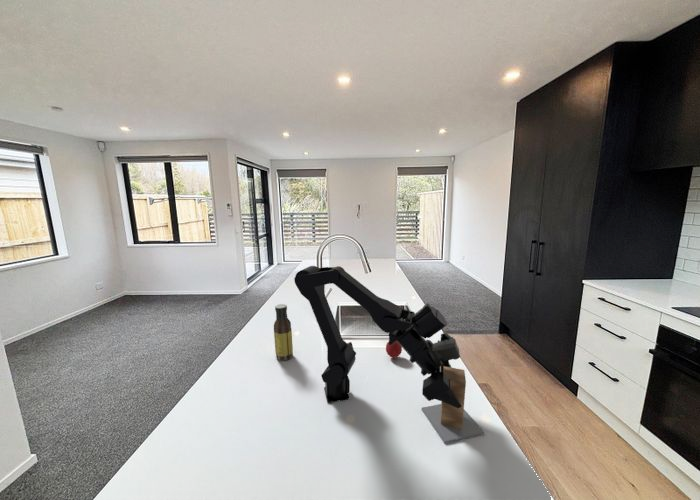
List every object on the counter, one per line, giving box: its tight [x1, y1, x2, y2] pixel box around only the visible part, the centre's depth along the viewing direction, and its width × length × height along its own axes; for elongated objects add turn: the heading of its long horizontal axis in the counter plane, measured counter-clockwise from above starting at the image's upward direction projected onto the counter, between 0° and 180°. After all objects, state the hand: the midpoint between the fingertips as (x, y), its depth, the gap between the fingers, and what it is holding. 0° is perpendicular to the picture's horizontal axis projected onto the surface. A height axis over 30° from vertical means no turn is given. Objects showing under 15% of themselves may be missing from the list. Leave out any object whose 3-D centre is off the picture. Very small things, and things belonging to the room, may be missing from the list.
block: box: [440, 366, 467, 429], centre depth 69 cm, size 5×5×13 cm
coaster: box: [421, 403, 486, 445], centre depth 70 cm, size 11×11×1 cm
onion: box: [385, 341, 403, 359], centre depth 98 cm, size 6×6×8 cm
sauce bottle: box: [273, 303, 294, 362], centre depth 98 cm, size 6×6×20 cm
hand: (459, 394), depth 68 cm, fingers open, 9 cm apart
